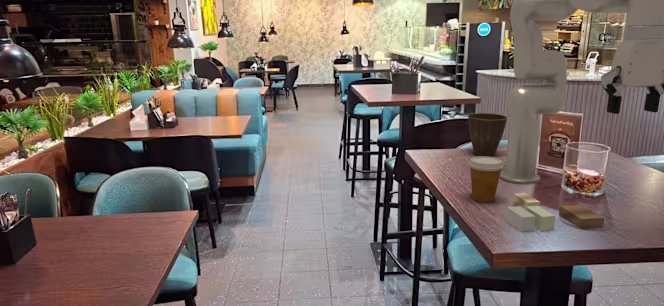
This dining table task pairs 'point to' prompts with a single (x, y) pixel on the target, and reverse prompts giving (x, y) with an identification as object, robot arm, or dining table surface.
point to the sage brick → (542, 218)
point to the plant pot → (486, 132)
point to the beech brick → (524, 200)
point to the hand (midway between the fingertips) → (631, 112)
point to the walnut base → (581, 216)
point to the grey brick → (520, 218)
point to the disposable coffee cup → (484, 177)
